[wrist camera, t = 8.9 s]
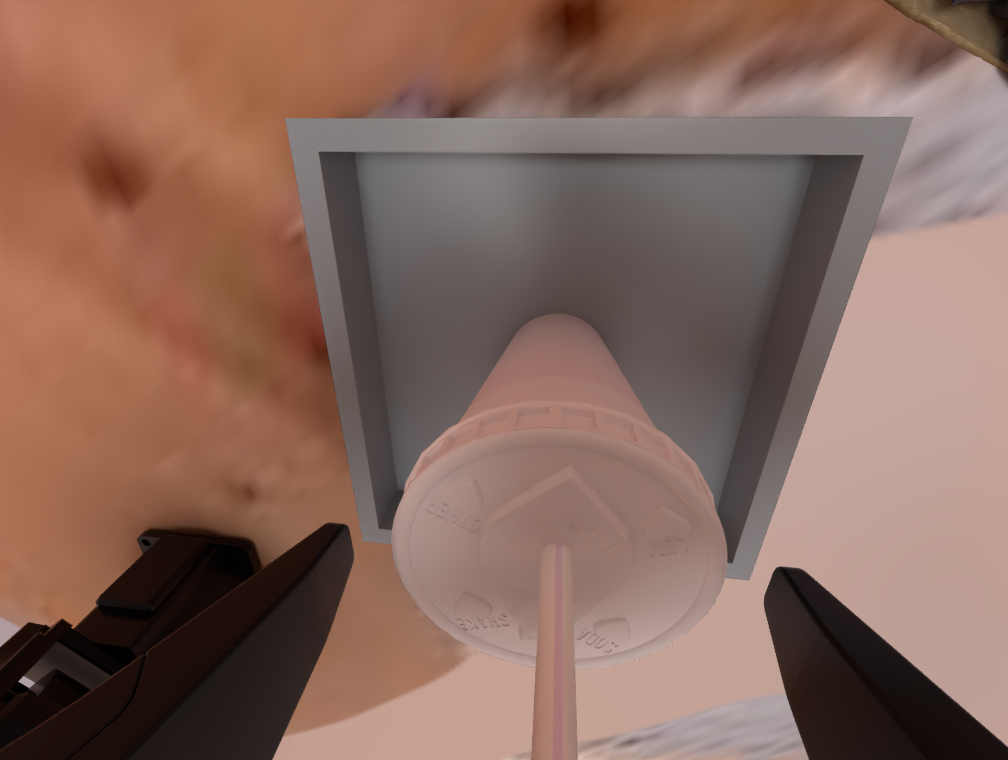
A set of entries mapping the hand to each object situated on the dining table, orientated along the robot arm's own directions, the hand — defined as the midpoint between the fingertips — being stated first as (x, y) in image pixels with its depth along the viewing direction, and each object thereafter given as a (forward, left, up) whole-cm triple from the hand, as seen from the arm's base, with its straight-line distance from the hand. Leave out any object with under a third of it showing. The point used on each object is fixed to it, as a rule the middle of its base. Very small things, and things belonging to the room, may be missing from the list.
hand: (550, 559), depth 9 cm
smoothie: (0, 0, -10) cm, 10 cm away
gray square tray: (0, 0, -10) cm, 10 cm away
